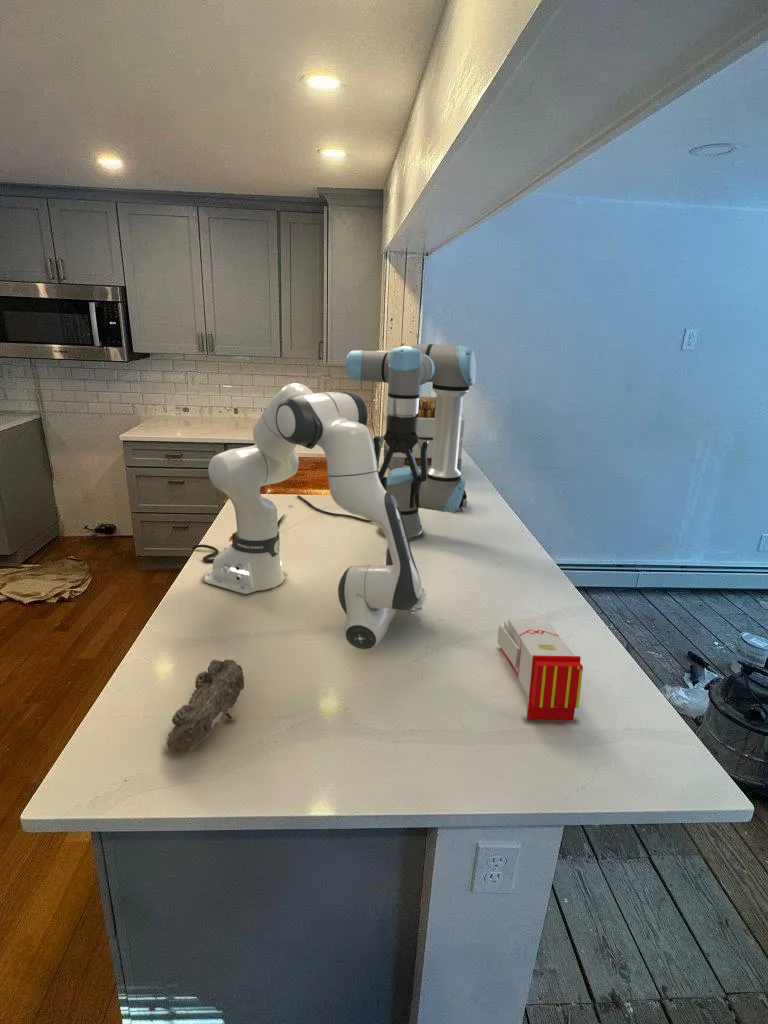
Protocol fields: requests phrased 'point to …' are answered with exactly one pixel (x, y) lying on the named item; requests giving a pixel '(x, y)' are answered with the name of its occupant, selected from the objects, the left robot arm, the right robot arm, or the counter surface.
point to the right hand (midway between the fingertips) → (397, 504)
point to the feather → (280, 520)
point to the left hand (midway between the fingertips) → (392, 580)
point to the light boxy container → (423, 436)
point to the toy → (542, 668)
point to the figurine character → (463, 501)
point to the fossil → (206, 705)
